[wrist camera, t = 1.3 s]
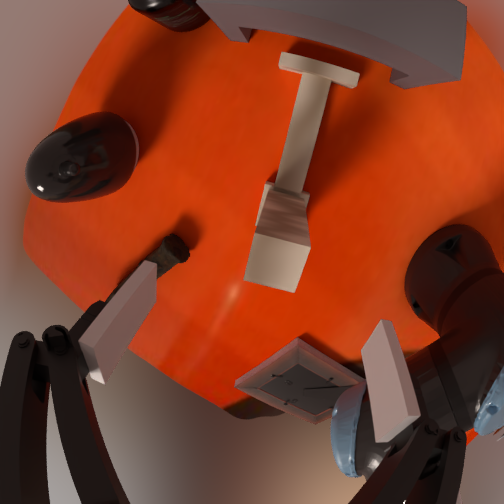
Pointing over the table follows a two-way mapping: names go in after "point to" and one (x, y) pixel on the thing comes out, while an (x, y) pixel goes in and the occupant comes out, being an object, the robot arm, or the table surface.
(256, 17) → the grey step stool
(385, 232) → the table surface
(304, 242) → the ash-wood pusher
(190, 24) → the supplement bottle
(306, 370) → the picture frame
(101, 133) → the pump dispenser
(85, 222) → the table surface
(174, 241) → the hand tool
